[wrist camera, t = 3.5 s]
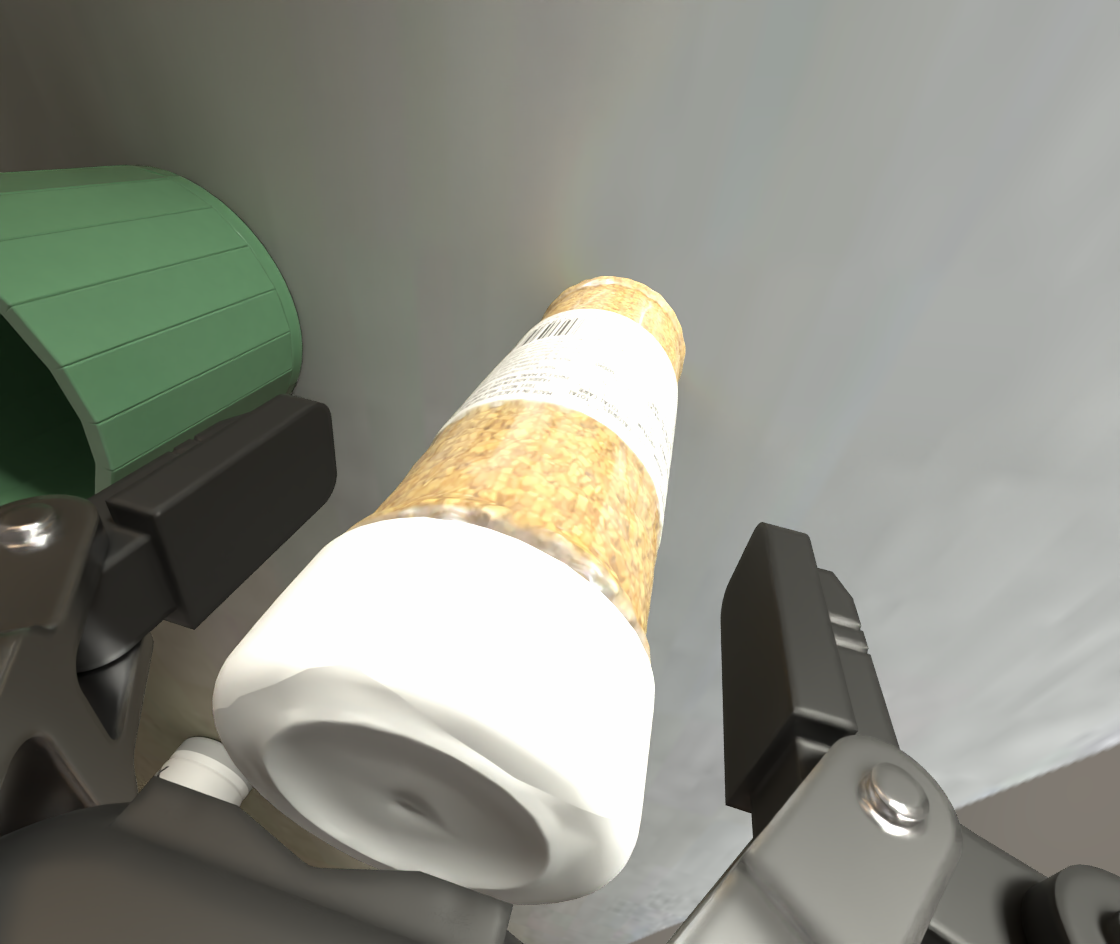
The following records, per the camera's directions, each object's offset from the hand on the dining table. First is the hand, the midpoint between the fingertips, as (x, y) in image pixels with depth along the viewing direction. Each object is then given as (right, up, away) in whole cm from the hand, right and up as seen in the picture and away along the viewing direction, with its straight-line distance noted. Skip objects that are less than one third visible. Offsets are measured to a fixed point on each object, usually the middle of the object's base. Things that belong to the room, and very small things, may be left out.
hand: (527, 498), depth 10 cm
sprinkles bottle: (+2, +4, +7) cm, 8 cm away
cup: (-13, +6, +9) cm, 17 cm away
